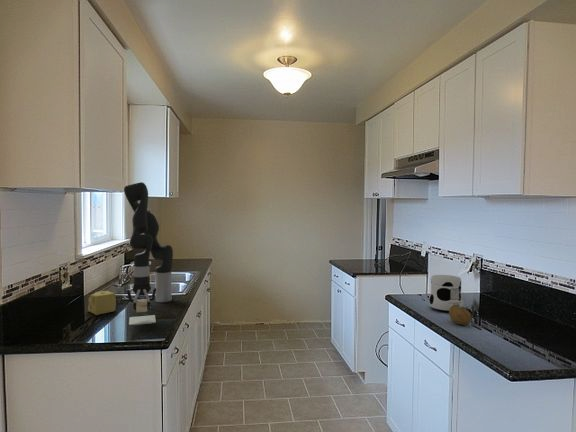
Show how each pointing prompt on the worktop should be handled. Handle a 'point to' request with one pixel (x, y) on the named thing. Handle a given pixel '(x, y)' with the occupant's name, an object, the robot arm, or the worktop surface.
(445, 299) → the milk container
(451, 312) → the potato
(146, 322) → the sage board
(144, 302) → the oak block
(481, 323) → the worktop surface
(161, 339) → the worktop surface
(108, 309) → the cheese
